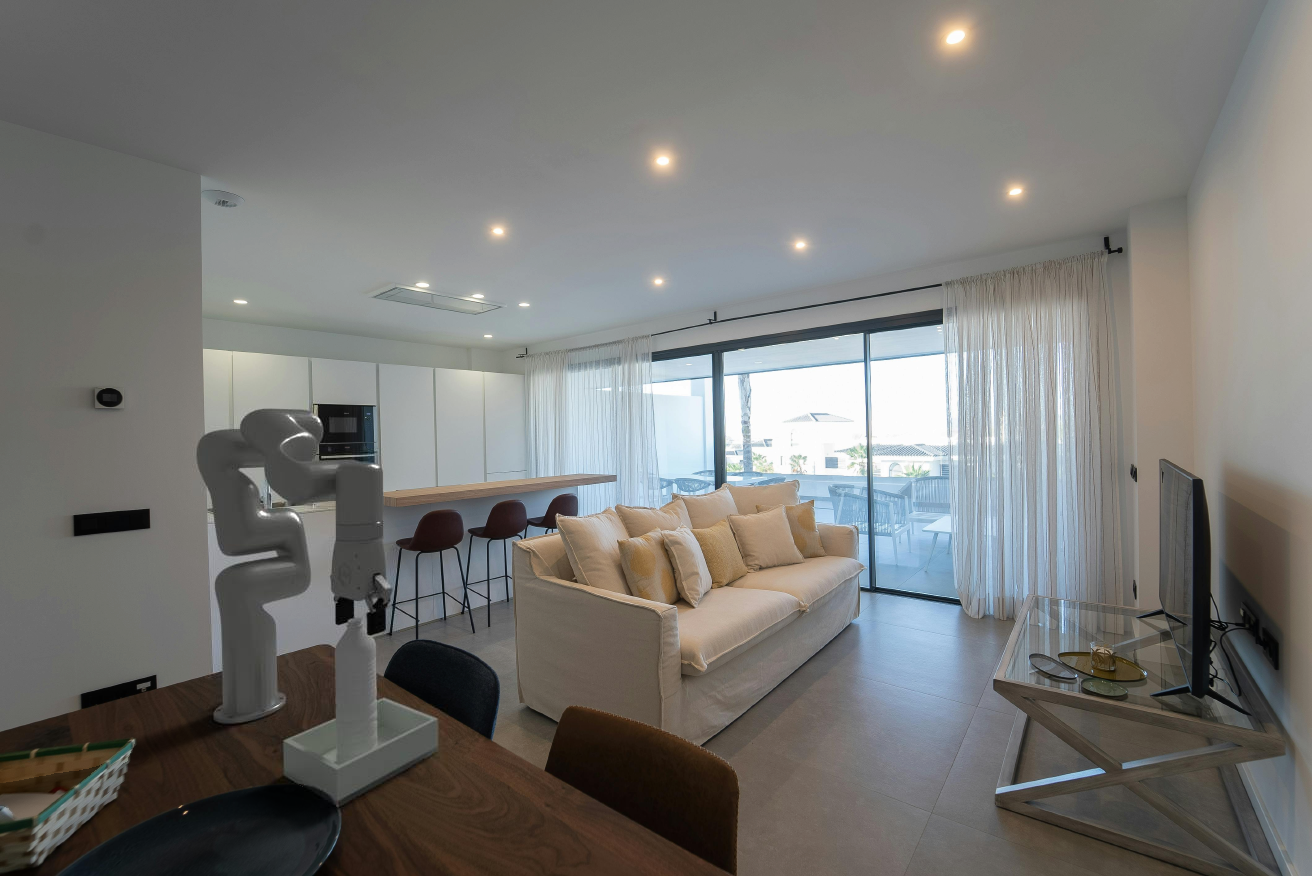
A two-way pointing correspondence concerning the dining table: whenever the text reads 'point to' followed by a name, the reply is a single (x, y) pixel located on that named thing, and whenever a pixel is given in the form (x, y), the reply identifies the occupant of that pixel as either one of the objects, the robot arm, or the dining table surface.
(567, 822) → the dining table surface
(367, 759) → the bin
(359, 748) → the water bottle
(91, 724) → the dining table surface
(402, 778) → the dining table surface
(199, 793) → the dining table surface
